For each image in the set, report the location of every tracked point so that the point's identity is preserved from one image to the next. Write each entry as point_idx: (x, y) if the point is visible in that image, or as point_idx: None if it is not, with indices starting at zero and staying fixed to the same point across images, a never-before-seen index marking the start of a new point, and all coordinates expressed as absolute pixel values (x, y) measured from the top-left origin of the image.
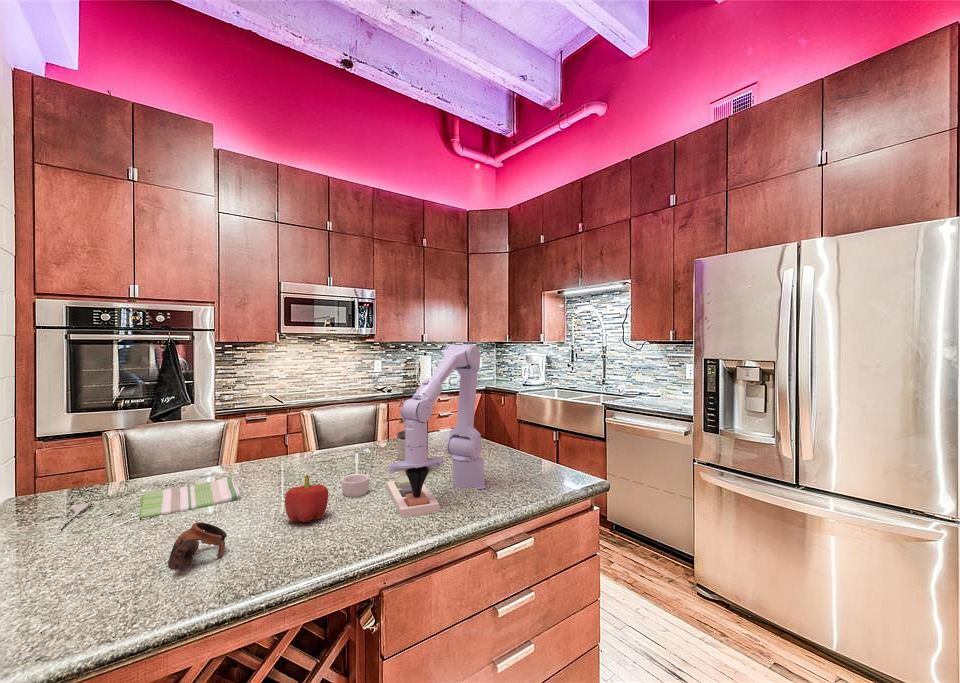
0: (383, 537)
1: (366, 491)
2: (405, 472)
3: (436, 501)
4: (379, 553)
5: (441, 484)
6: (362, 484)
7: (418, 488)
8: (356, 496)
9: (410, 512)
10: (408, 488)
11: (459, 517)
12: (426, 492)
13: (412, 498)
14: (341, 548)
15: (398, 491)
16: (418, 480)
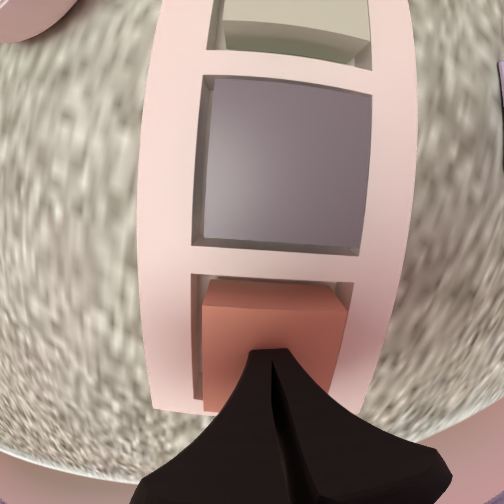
0: (105, 430)
1: (66, 3)
2: (153, 474)
3: (364, 387)
4: (105, 472)
5: (473, 36)
6: (12, 13)
7: (278, 440)
8: (26, 39)
9: None
10: (262, 177)
11: (391, 409)
12: (385, 232)
13: (230, 391)
14: (20, 412)
15: (195, 107)
16: (288, 487)
